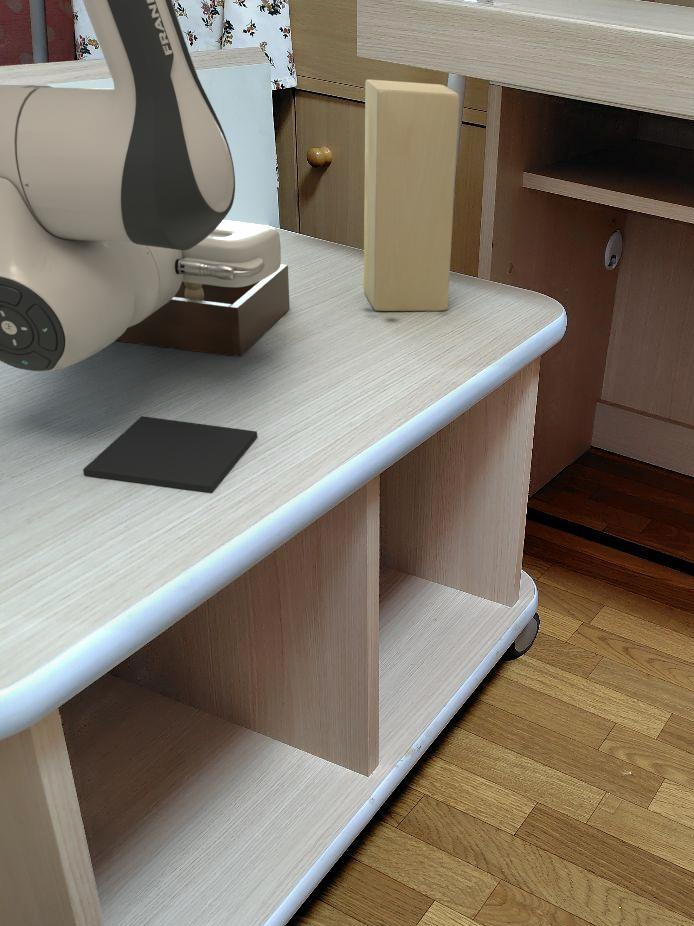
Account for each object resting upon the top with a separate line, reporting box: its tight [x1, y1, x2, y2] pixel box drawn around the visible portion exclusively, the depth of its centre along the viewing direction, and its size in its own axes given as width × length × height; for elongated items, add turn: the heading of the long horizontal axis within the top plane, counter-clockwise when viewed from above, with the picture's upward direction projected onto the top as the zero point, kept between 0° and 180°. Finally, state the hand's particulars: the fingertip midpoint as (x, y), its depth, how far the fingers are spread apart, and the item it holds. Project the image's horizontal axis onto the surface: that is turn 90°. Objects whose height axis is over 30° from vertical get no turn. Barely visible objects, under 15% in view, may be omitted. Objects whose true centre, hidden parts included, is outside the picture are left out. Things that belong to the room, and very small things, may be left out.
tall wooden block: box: [363, 78, 460, 312], centre depth 100 cm, size 8×7×21 cm
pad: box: [82, 415, 258, 493], centre depth 71 cm, size 9×9×1 cm
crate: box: [114, 263, 291, 358], centre depth 93 cm, size 14×14×4 cm
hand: (192, 219), depth 90 cm, fingers closed
